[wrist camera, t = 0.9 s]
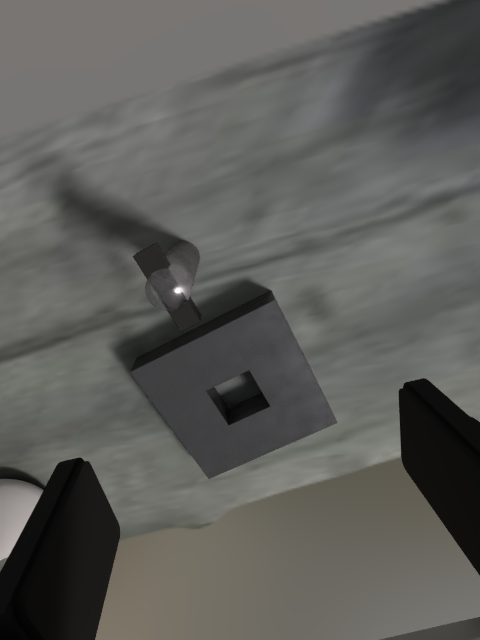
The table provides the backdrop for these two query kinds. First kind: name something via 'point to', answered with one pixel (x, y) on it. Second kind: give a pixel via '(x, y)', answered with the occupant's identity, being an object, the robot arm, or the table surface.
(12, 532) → the flower in vase
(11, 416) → the table surface
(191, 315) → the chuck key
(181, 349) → the block
